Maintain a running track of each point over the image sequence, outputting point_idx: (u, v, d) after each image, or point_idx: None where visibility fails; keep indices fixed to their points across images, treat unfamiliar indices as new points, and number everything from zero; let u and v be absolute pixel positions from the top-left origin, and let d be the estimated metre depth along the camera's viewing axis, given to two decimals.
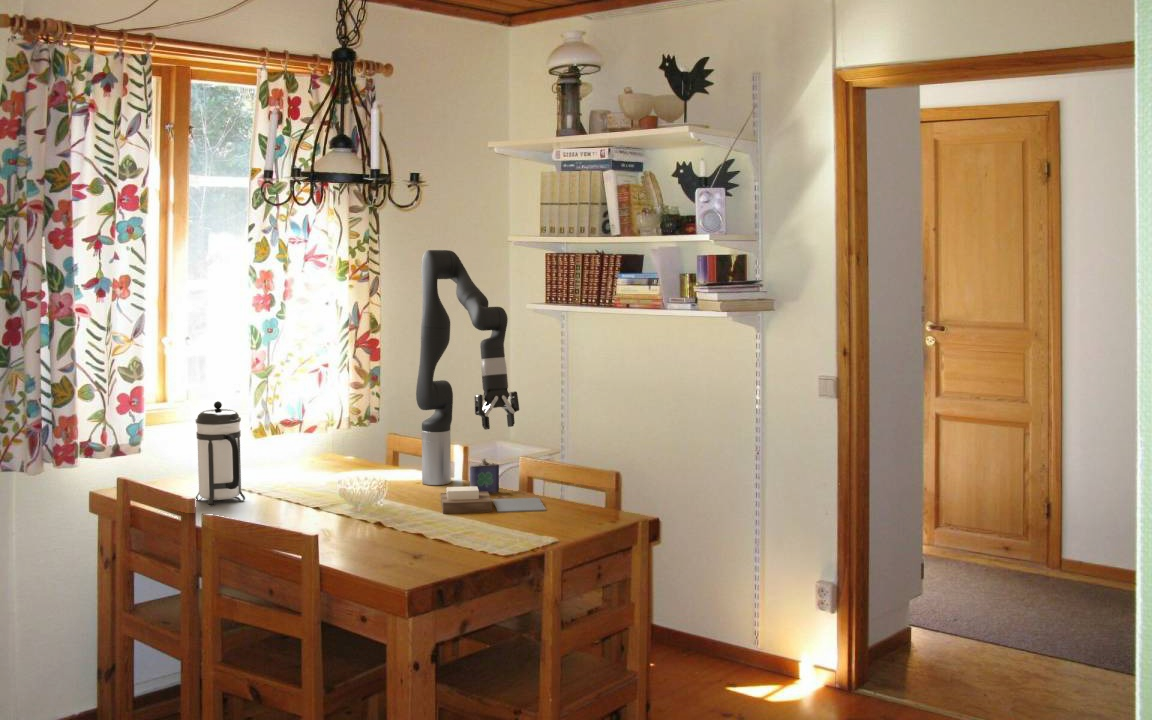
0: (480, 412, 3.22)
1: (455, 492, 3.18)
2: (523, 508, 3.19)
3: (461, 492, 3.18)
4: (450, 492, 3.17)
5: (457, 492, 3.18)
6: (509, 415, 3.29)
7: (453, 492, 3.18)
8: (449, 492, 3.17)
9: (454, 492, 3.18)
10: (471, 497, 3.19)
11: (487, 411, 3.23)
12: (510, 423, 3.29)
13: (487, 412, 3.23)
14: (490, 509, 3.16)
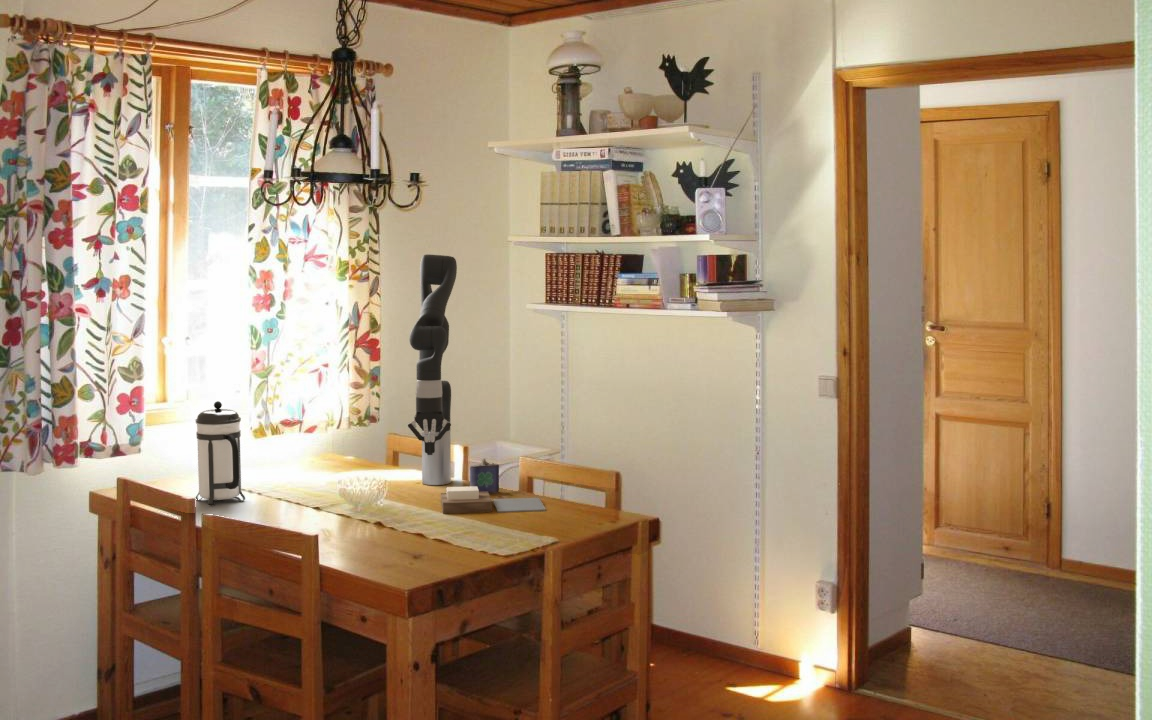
0: (419, 437, 3.16)
1: (455, 492, 3.18)
2: (523, 508, 3.19)
3: (461, 492, 3.18)
4: (450, 492, 3.17)
5: (457, 492, 3.18)
6: None
7: (453, 492, 3.18)
8: (449, 492, 3.17)
9: (454, 492, 3.18)
10: (471, 497, 3.19)
11: (426, 437, 3.17)
12: None
13: (426, 438, 3.17)
14: (490, 509, 3.16)
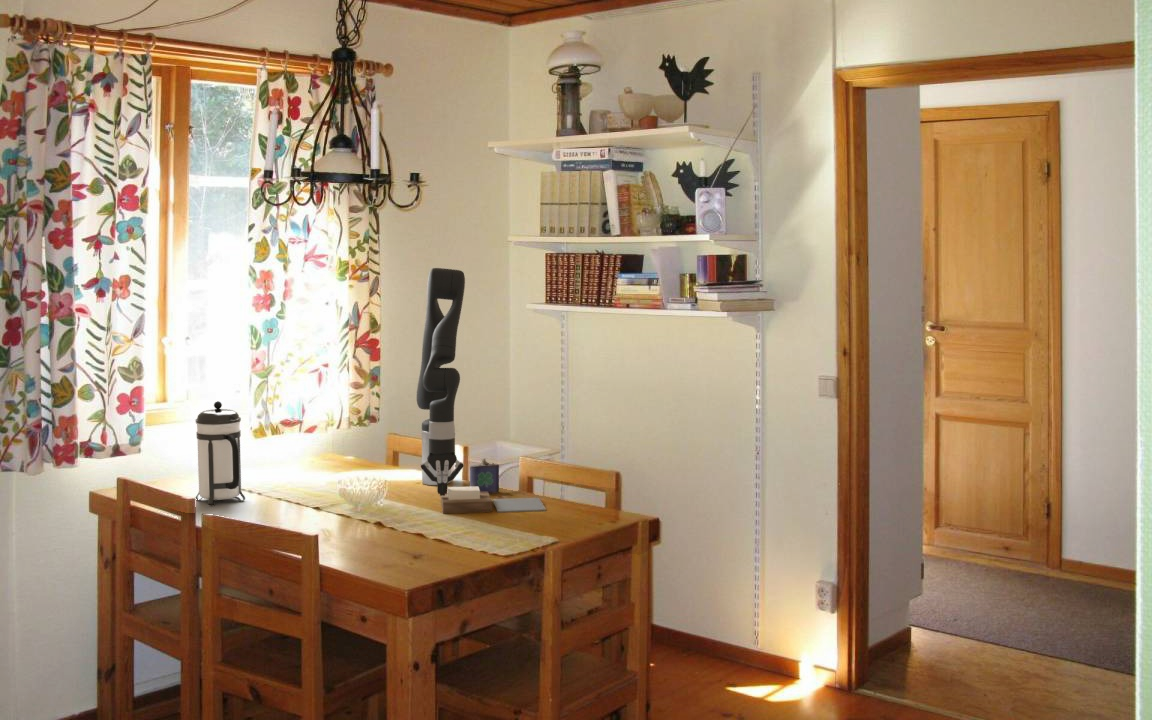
0: (432, 478, 3.18)
1: (456, 492, 3.18)
2: (523, 508, 3.19)
3: (462, 492, 3.18)
4: (451, 492, 3.17)
5: (458, 492, 3.18)
6: None
7: (454, 492, 3.18)
8: (450, 492, 3.17)
9: (455, 492, 3.18)
10: (472, 497, 3.19)
11: (439, 478, 3.18)
12: (442, 492, 3.20)
13: (439, 479, 3.18)
14: (490, 509, 3.16)
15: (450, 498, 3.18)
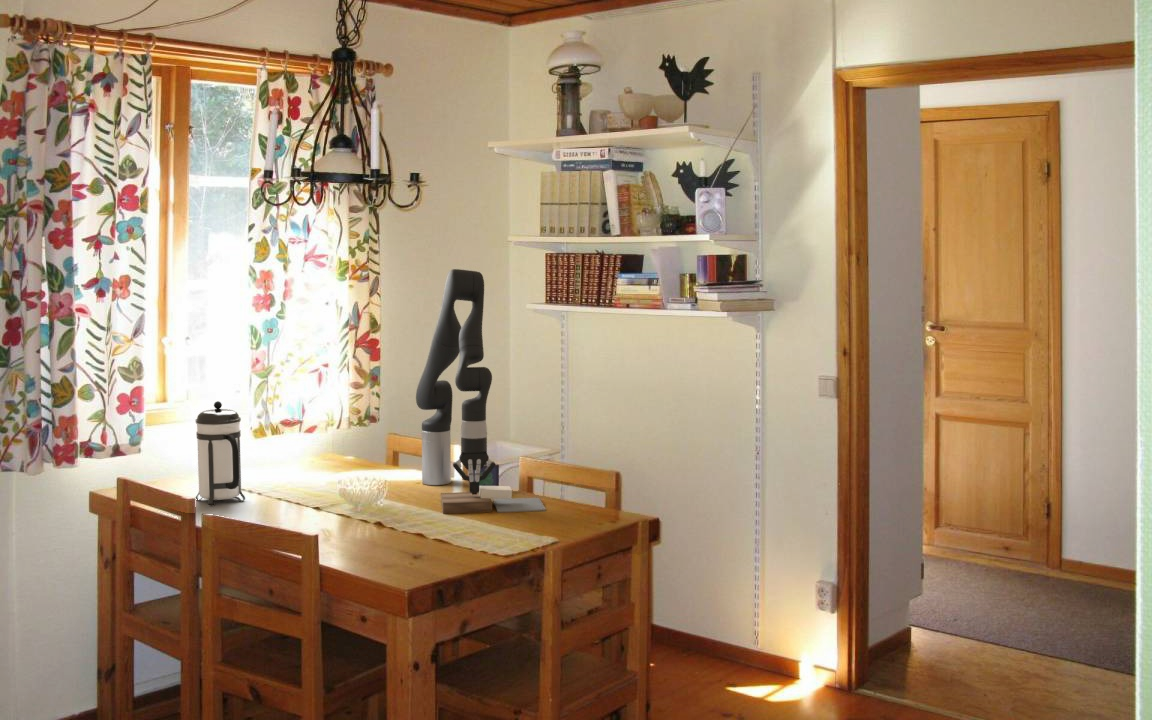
0: (464, 477, 3.19)
1: (489, 491, 3.19)
2: (523, 508, 3.19)
3: (494, 491, 3.20)
4: (484, 491, 3.19)
5: (491, 491, 3.19)
6: (474, 482, 3.21)
7: (487, 491, 3.19)
8: (483, 491, 3.19)
9: (488, 491, 3.19)
10: (504, 496, 3.20)
11: (471, 477, 3.20)
12: (474, 491, 3.21)
13: (471, 477, 3.20)
14: (490, 509, 3.16)
15: (482, 497, 3.19)
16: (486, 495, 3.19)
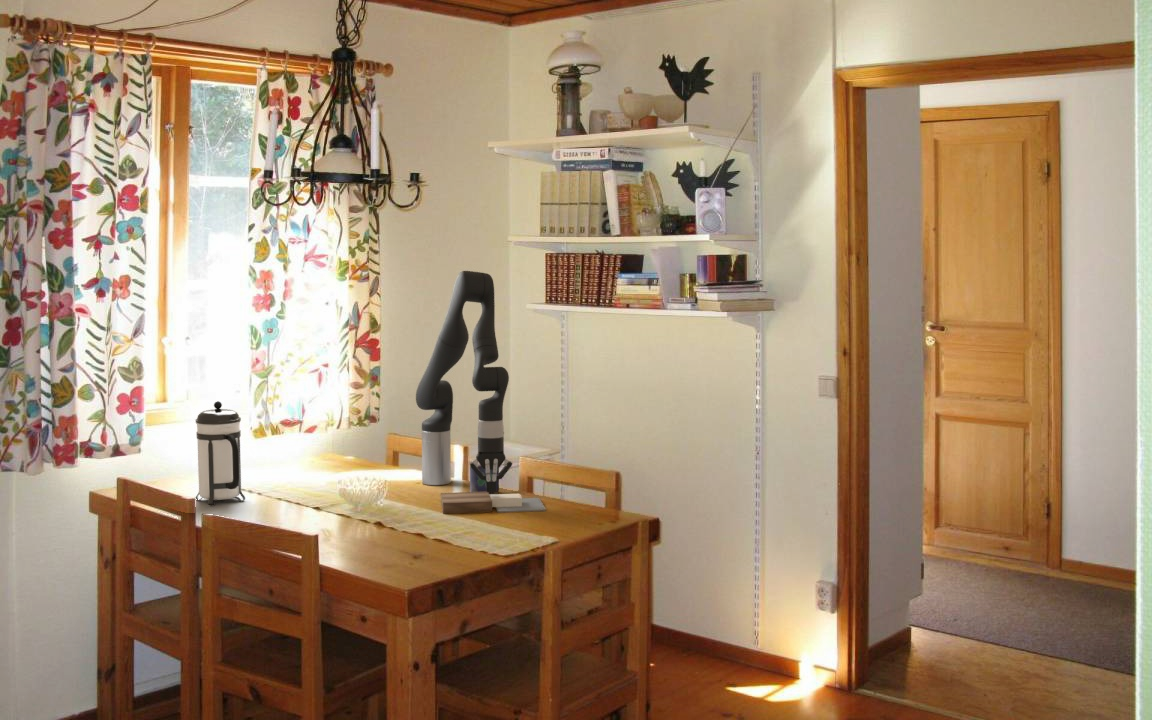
0: (481, 477, 3.20)
1: (499, 499, 3.20)
2: (523, 508, 3.19)
3: (504, 499, 3.20)
4: (494, 499, 3.20)
5: (500, 499, 3.20)
6: None
7: (497, 499, 3.20)
8: (493, 499, 3.20)
9: (498, 499, 3.20)
10: (514, 504, 3.21)
11: (488, 476, 3.21)
12: None
13: (488, 477, 3.21)
14: (490, 509, 3.16)
15: (492, 505, 3.20)
16: (496, 504, 3.20)
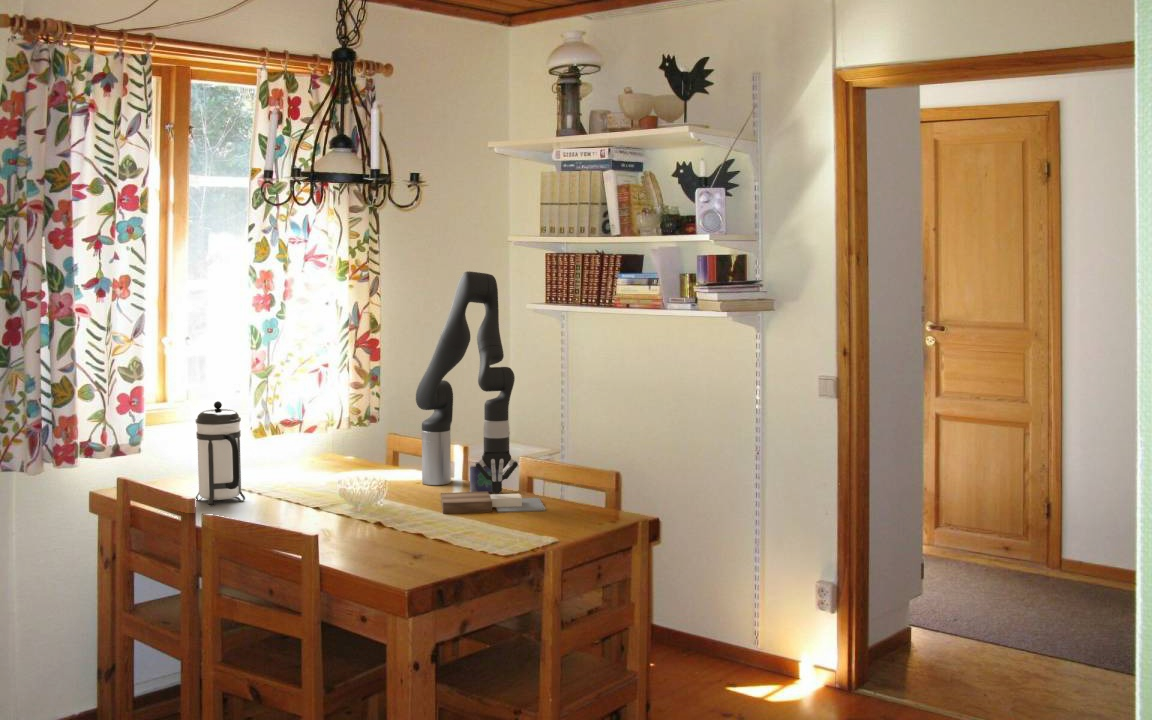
0: (487, 477, 3.21)
1: (499, 499, 3.20)
2: (523, 508, 3.19)
3: (504, 499, 3.20)
4: (494, 499, 3.20)
5: (500, 499, 3.20)
6: None
7: (497, 499, 3.20)
8: (493, 499, 3.20)
9: (498, 499, 3.20)
10: (514, 504, 3.21)
11: (493, 476, 3.21)
12: None
13: (494, 477, 3.21)
14: (490, 509, 3.16)
15: (492, 505, 3.20)
16: (496, 504, 3.20)
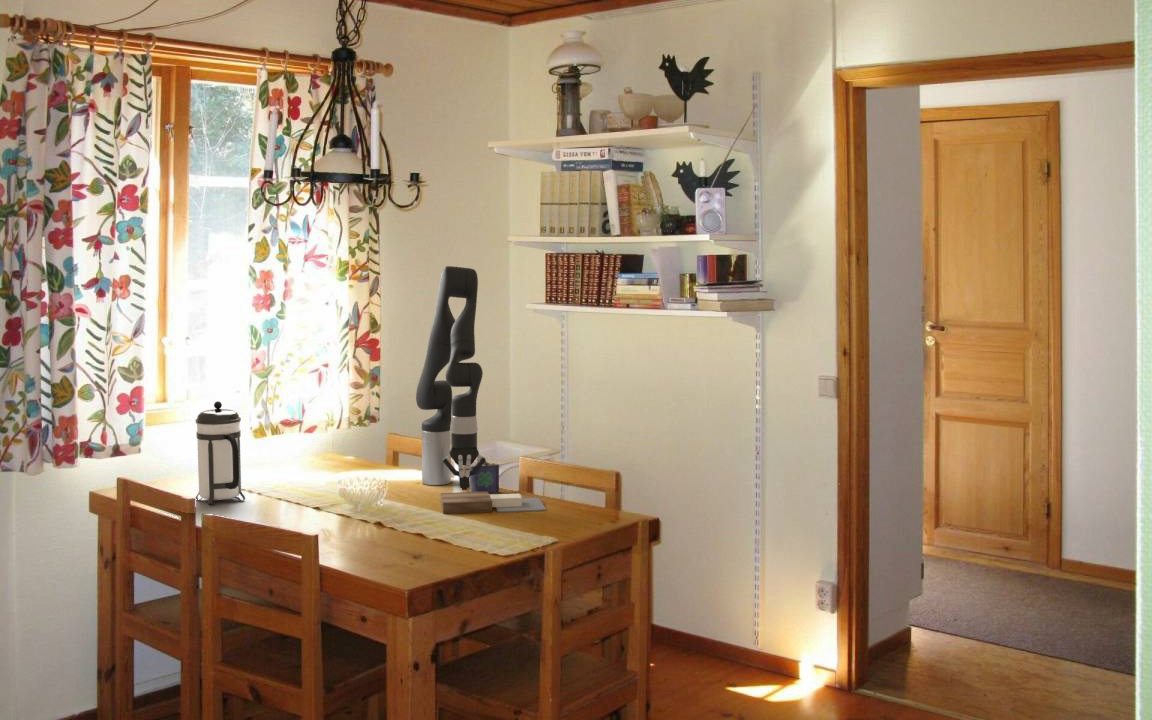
0: (454, 473, 3.19)
1: (499, 499, 3.20)
2: (523, 508, 3.19)
3: (504, 499, 3.20)
4: (494, 499, 3.20)
5: (500, 499, 3.20)
6: (464, 478, 3.21)
7: (497, 499, 3.20)
8: (493, 499, 3.20)
9: (498, 499, 3.20)
10: (514, 504, 3.21)
11: (461, 472, 3.20)
12: (464, 486, 3.21)
13: (461, 473, 3.20)
14: (490, 509, 3.16)
15: (492, 505, 3.20)
16: (496, 504, 3.20)
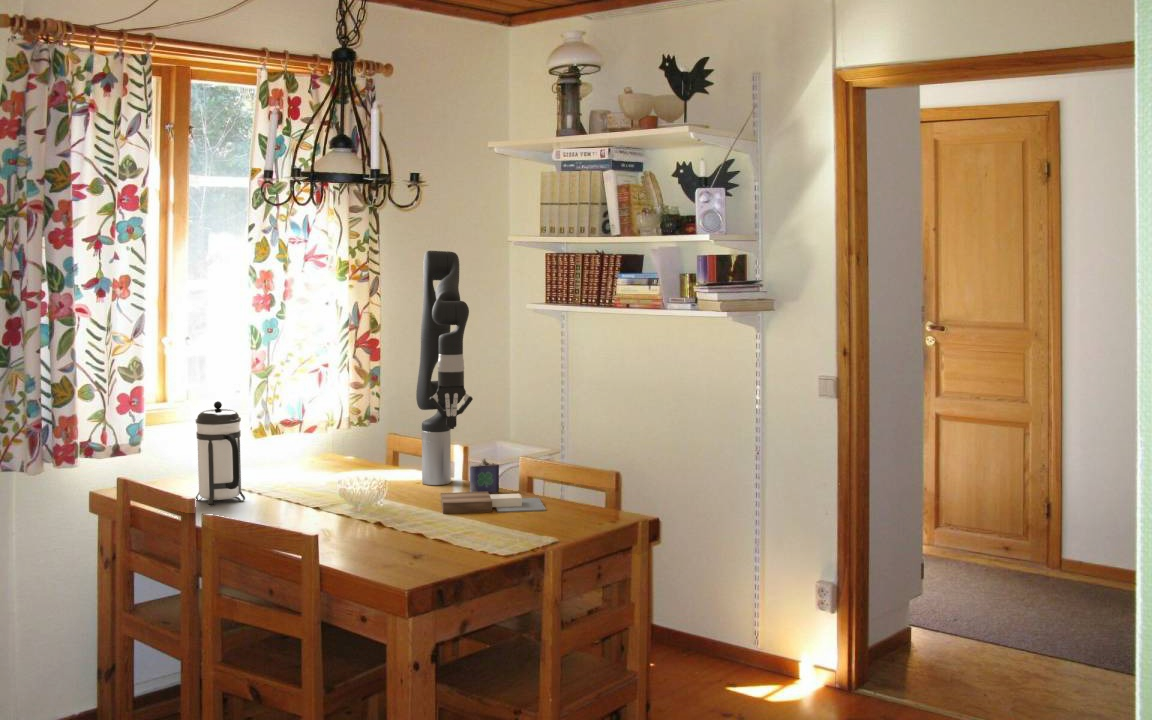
0: (441, 411, 3.19)
1: (499, 499, 3.20)
2: (523, 508, 3.19)
3: (504, 499, 3.20)
4: (494, 499, 3.20)
5: (500, 499, 3.20)
6: None
7: (497, 499, 3.20)
8: (493, 499, 3.20)
9: (498, 499, 3.20)
10: (514, 504, 3.21)
11: (448, 411, 3.19)
12: None
13: (448, 412, 3.19)
14: (490, 509, 3.16)
15: (492, 505, 3.20)
16: (496, 504, 3.20)
